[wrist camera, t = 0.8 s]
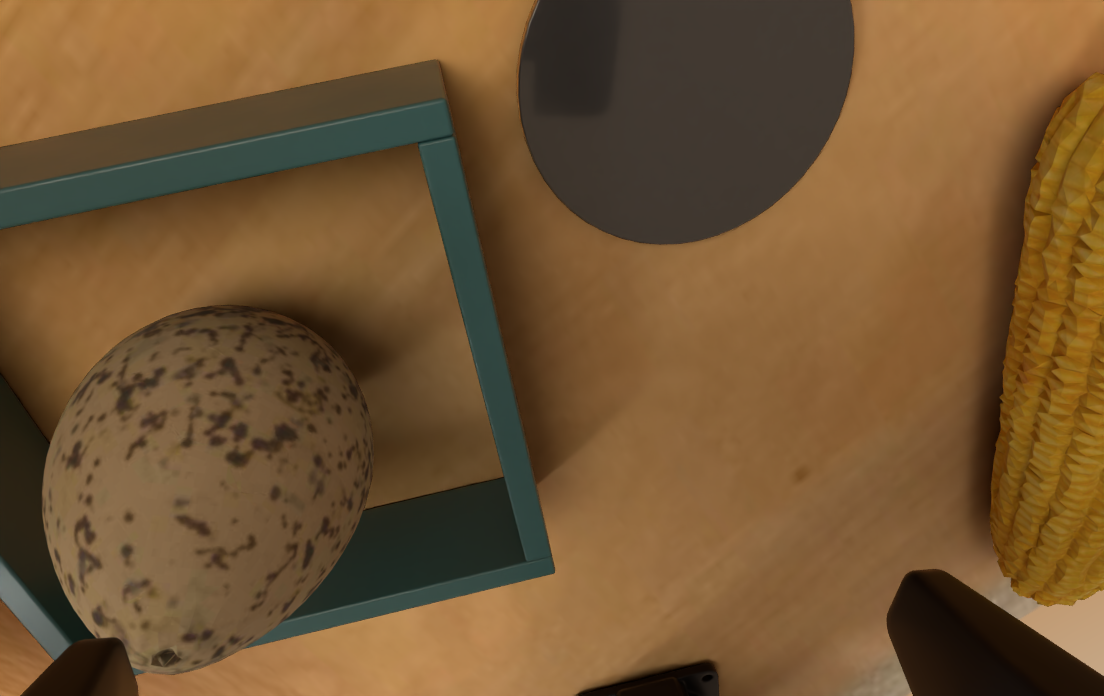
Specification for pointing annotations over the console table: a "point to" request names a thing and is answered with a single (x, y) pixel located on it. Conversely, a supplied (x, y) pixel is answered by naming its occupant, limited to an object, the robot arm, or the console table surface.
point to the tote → (252, 150)
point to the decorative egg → (205, 483)
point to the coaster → (680, 107)
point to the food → (1056, 370)
